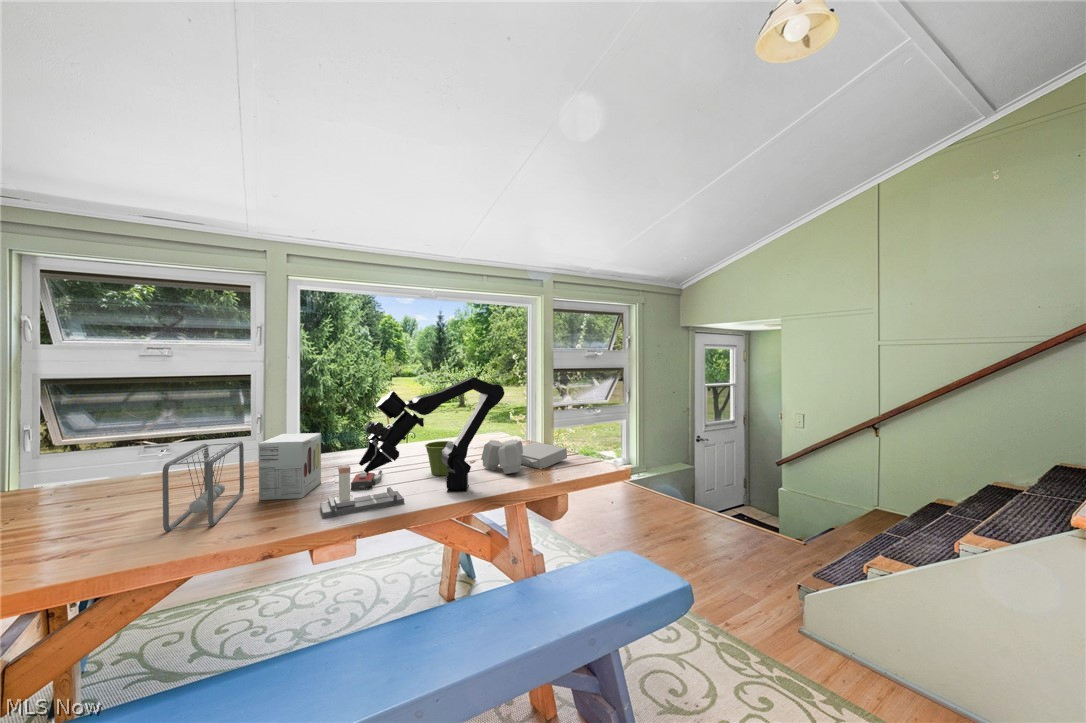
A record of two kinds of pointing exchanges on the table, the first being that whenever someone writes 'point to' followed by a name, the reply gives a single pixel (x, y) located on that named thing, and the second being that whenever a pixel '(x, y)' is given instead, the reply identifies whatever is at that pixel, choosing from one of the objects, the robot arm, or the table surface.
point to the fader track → (362, 503)
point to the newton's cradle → (210, 490)
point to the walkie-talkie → (365, 480)
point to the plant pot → (437, 457)
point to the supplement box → (289, 465)
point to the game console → (520, 455)
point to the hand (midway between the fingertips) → (362, 468)
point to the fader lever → (344, 488)
